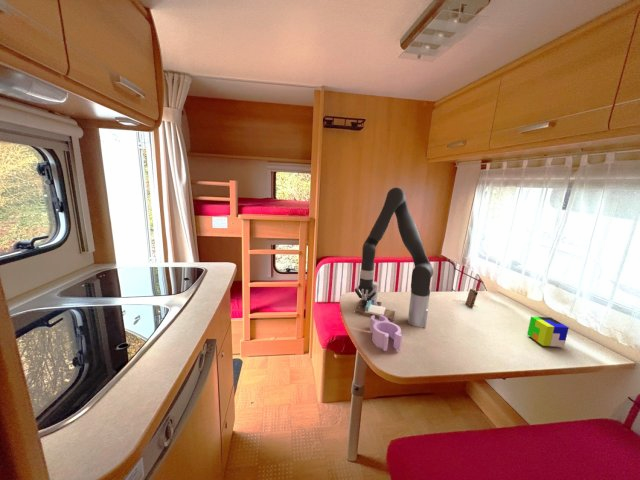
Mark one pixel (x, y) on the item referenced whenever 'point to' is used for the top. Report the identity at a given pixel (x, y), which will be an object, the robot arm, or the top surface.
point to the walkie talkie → (471, 297)
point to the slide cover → (374, 309)
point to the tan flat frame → (387, 313)
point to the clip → (385, 332)
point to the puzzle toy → (547, 331)
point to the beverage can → (374, 298)
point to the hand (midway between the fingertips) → (364, 305)
